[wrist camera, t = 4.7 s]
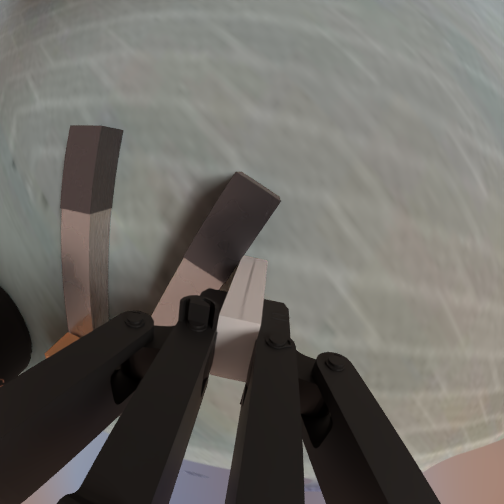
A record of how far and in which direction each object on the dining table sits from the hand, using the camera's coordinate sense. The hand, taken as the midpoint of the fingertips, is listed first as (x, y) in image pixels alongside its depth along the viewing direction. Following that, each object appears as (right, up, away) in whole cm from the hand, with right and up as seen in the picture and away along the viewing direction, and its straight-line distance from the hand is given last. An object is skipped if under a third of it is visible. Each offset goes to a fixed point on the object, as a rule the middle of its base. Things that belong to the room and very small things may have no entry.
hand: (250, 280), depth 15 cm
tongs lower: (-10, -1, +2) cm, 11 cm away
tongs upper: (-4, -2, +2) cm, 5 cm away
